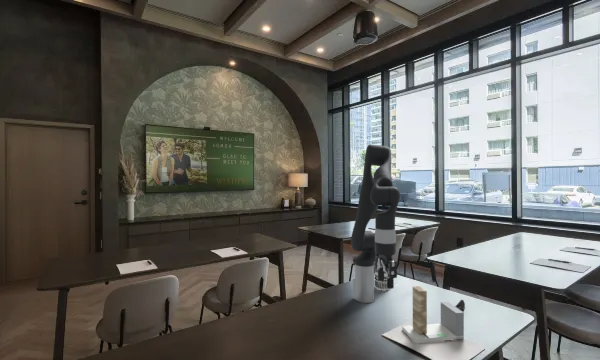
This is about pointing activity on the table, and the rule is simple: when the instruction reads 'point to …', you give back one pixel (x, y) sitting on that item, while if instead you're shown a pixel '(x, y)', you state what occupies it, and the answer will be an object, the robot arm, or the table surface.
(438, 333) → the base
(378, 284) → the decorative candle
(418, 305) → the tan rectangular box
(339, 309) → the table surface
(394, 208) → the robot arm
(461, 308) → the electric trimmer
